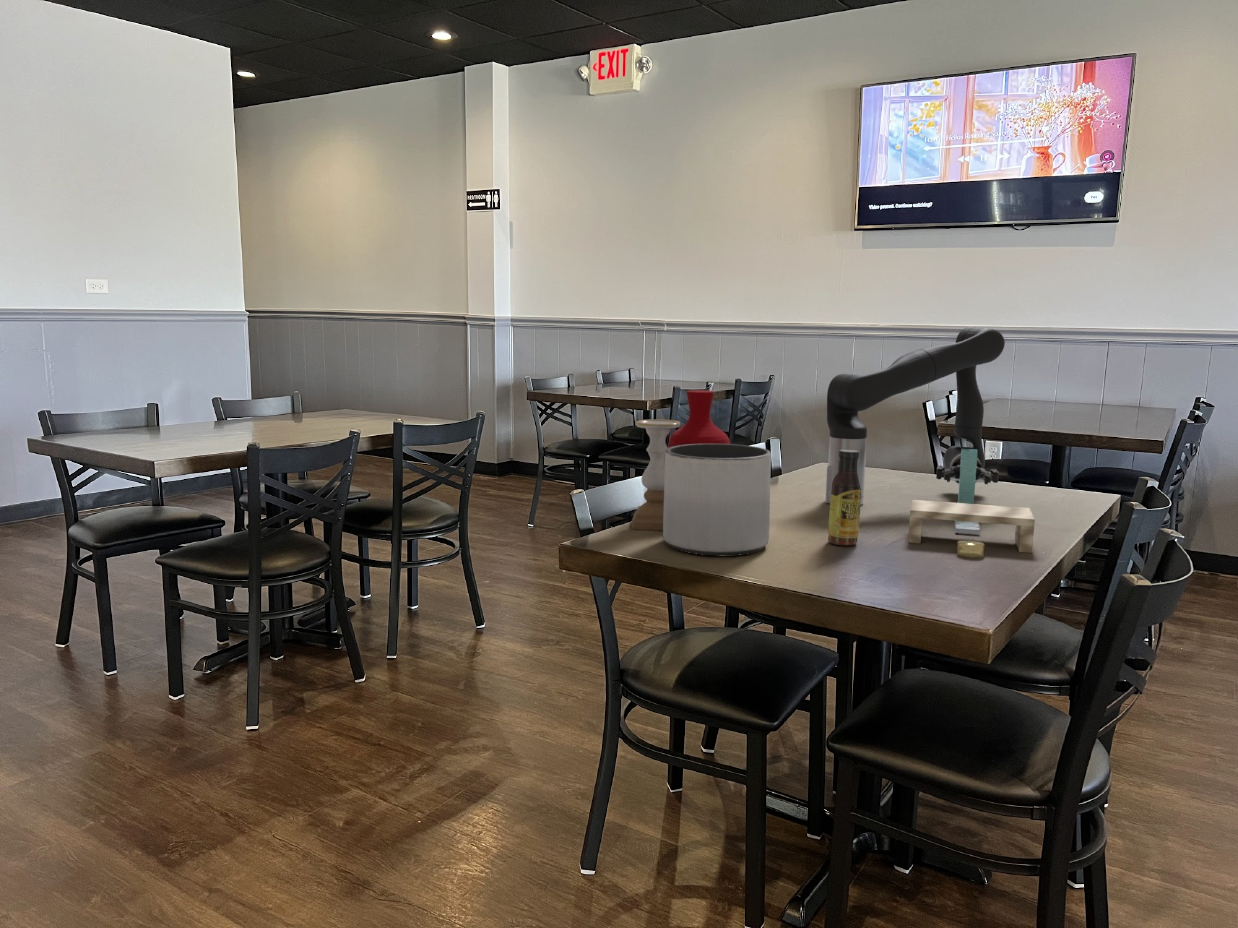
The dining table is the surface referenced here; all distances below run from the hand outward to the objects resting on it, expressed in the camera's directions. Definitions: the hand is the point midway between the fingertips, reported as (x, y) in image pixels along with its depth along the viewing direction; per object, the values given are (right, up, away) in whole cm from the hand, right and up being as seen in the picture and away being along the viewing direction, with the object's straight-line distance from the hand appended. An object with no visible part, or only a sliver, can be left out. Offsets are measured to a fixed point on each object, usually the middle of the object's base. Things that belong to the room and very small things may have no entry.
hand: (967, 478), depth 212 cm
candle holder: (-75, -11, -10) cm, 77 cm away
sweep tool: (-3, -10, -6) cm, 12 cm away
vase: (-65, -9, +1) cm, 66 cm away
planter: (-64, -14, -27) cm, 71 cm away
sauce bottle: (-37, -13, -26) cm, 47 cm away
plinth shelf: (-9, -13, -23) cm, 28 cm away
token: (-13, -15, -34) cm, 39 cm away
